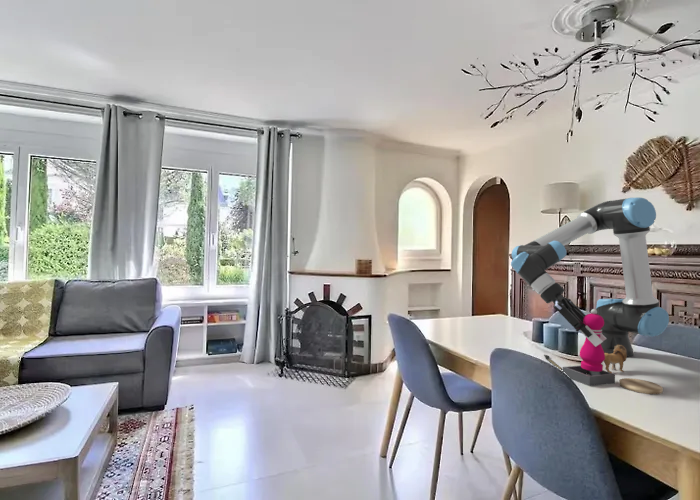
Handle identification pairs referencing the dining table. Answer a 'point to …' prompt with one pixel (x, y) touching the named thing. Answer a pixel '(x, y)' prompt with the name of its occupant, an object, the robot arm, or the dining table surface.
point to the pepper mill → (588, 351)
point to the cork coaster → (641, 386)
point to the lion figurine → (616, 358)
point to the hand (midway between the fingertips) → (601, 342)
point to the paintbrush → (552, 361)
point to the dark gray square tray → (593, 379)
